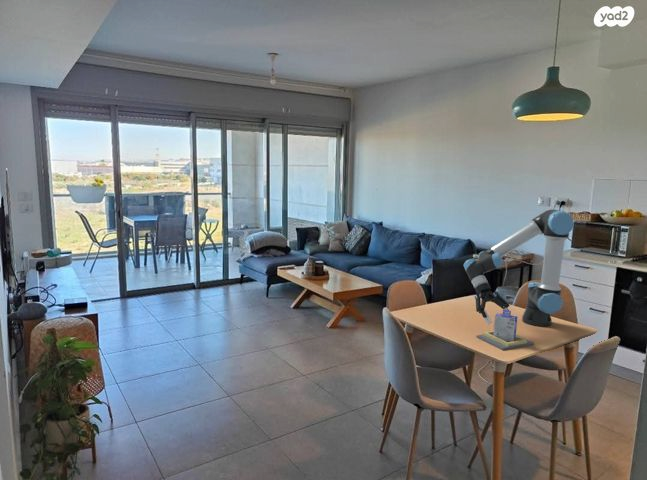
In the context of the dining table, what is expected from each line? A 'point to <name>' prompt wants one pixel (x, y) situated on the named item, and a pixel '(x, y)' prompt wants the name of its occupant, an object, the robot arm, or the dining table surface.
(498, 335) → the ink cartridge box
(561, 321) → the dining table surface
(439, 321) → the dining table surface
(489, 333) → the dock
